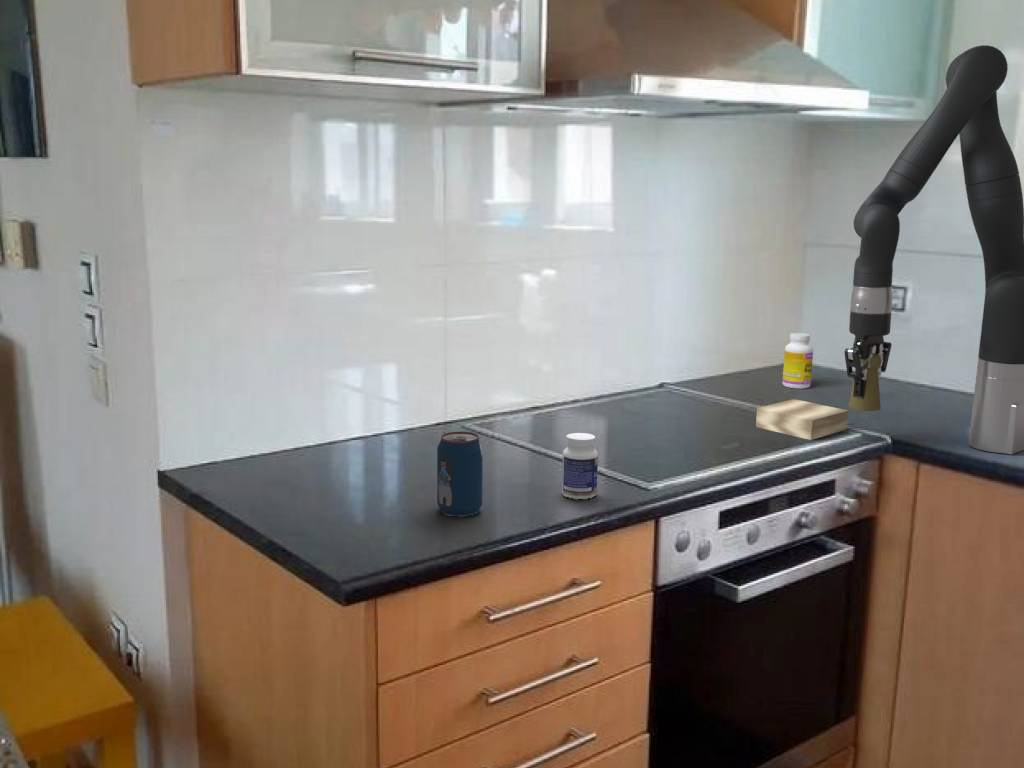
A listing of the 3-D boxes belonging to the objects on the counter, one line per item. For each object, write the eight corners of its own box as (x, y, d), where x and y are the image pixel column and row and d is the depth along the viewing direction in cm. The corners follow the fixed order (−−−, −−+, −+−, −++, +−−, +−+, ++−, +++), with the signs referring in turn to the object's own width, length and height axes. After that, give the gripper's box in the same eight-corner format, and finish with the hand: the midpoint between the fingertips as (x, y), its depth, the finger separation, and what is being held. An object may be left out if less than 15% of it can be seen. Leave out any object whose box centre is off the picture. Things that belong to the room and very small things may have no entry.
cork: (887, 409, 202) (891, 353, 200) (862, 412, 200) (866, 356, 197) (866, 403, 207) (869, 348, 205) (841, 405, 205) (844, 351, 203)
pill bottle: (602, 499, 167) (604, 439, 165) (568, 502, 165) (570, 441, 163) (589, 488, 172) (591, 430, 170) (556, 491, 171) (558, 432, 169)
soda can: (486, 505, 163) (486, 431, 161) (477, 520, 157) (477, 443, 154) (443, 502, 164) (442, 429, 162) (432, 517, 158) (432, 440, 155)
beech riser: (846, 429, 212) (848, 410, 211) (810, 440, 204) (812, 420, 203) (792, 417, 222) (793, 399, 221) (755, 426, 213) (757, 407, 213)
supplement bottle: (805, 390, 248) (809, 337, 245) (778, 387, 251) (782, 334, 249) (814, 385, 253) (818, 333, 251) (787, 382, 257) (791, 331, 254)
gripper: (869, 315, 192) (863, 405, 196) (907, 307, 201) (901, 394, 205) (833, 311, 198) (828, 399, 201) (871, 304, 207) (866, 388, 210)
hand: (865, 396), depth 203 cm, fingers closed on cork, 4 cm apart
